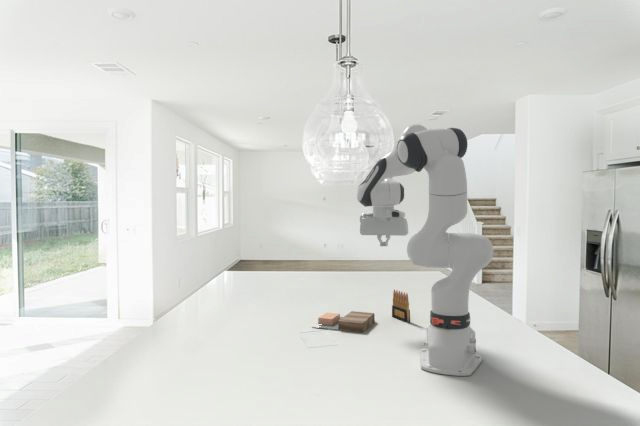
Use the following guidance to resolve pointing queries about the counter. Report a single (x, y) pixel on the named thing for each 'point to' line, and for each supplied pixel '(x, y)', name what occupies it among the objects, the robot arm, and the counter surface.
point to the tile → (329, 318)
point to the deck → (356, 321)
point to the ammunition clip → (400, 306)
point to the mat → (334, 326)
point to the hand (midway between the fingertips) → (383, 246)
